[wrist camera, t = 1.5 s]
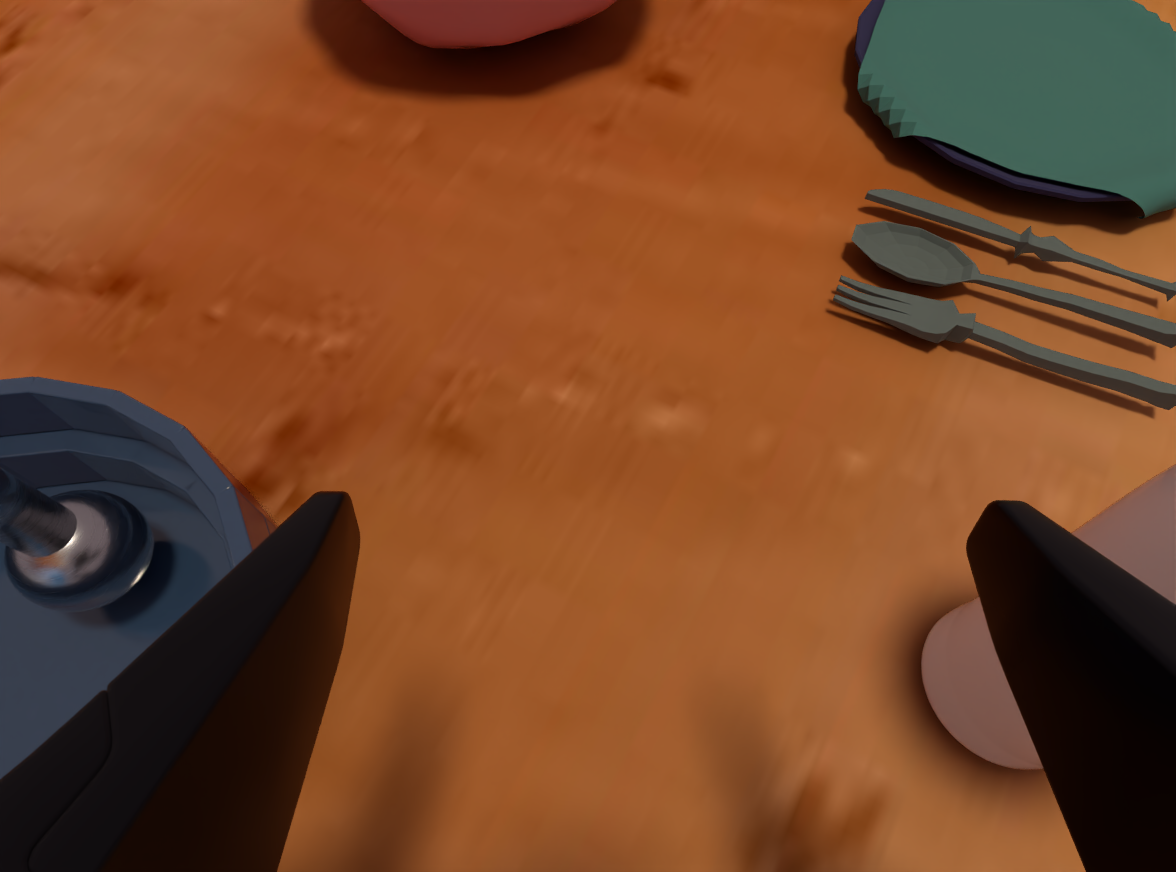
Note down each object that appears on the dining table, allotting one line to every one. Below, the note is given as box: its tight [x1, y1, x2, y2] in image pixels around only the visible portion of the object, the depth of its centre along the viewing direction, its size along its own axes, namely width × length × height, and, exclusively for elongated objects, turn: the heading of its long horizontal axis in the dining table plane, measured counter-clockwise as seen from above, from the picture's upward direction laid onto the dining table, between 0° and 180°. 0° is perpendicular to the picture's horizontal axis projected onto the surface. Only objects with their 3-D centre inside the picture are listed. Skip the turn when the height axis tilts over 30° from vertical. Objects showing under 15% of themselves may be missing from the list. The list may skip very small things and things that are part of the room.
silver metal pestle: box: [0, 467, 154, 612], centre depth 19 cm, size 4×4×11 cm
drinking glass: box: [921, 464, 1176, 770], centre depth 17 cm, size 7×7×15 cm
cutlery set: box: [833, 0, 1176, 410], centre depth 36 cm, size 20×30×2 cm, turn 157°
